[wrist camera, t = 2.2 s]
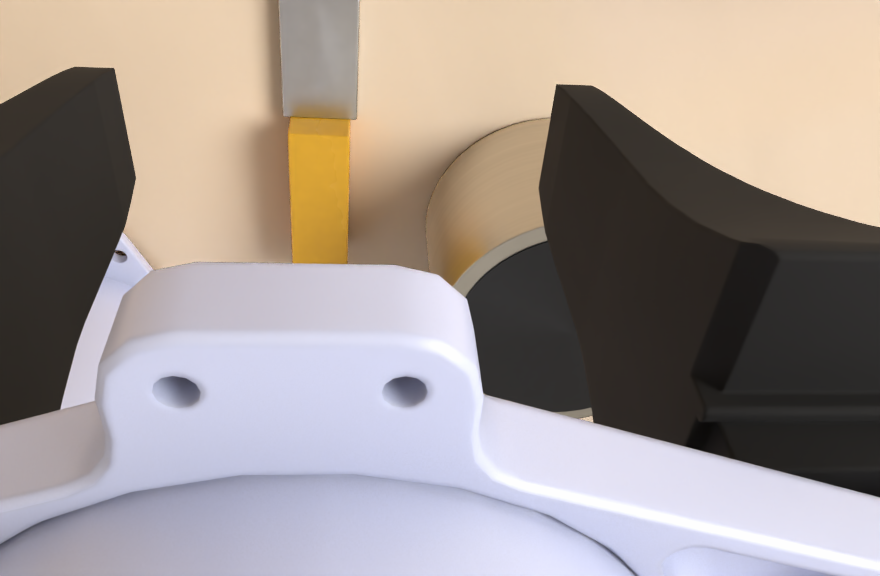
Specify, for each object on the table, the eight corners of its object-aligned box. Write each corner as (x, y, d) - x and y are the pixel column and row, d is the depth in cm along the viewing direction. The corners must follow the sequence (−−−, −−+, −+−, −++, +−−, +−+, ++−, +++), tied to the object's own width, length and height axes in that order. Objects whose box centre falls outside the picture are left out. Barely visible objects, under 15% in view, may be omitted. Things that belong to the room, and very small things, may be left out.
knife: (353, 244, 28) (353, 270, 27) (289, 242, 28) (286, 268, 27) (362, -138, 20) (362, -123, 19) (273, -145, 20) (268, -130, 19)
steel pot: (435, 111, 25) (448, 216, 21) (685, 123, 26) (747, 225, 22) (406, 433, 35) (411, 548, 31) (589, 433, 36) (618, 546, 31)
